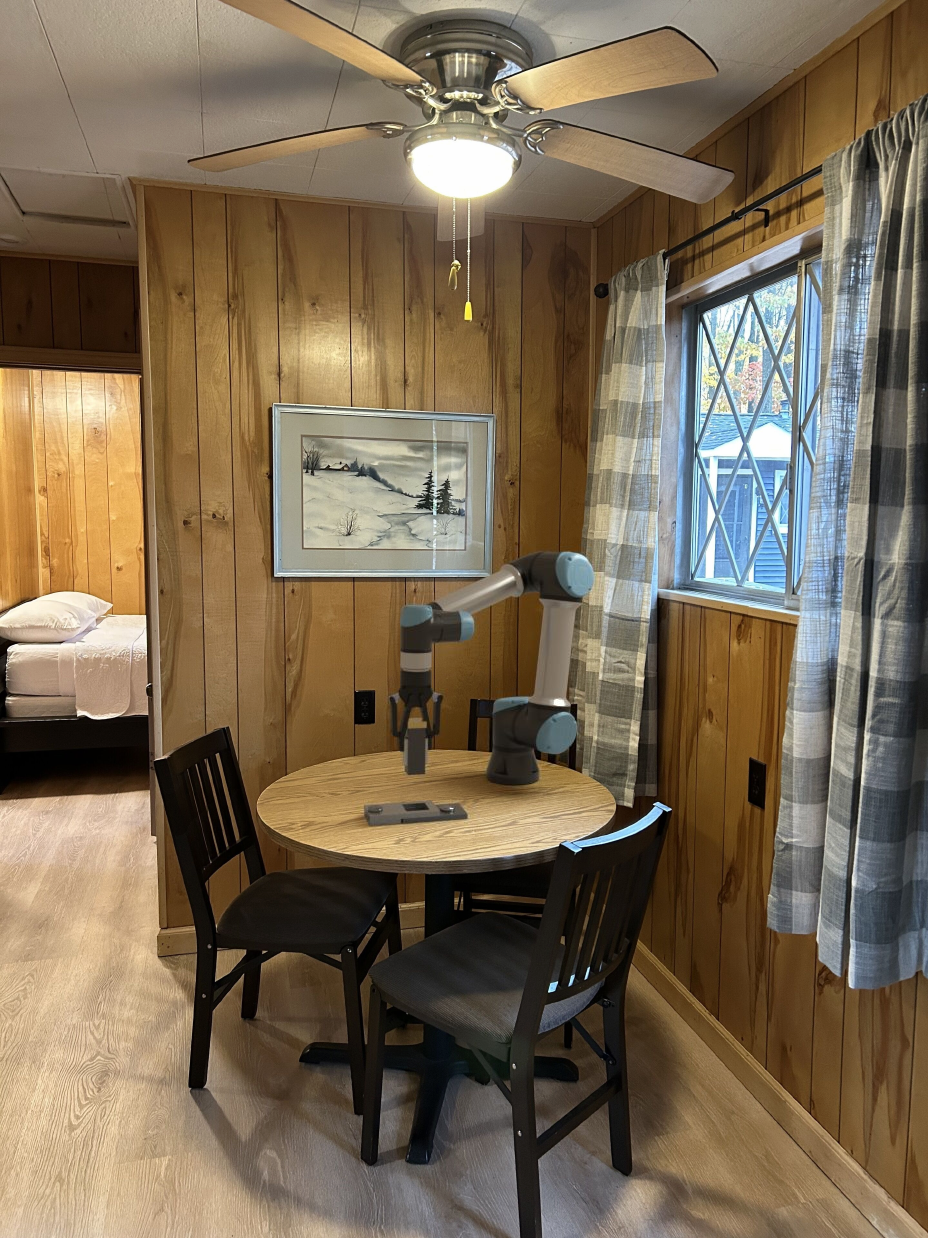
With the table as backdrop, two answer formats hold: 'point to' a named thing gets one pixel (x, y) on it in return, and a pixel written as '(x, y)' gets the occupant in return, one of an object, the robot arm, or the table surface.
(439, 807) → the plate
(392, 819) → the plate
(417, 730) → the link pin
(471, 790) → the table surface
